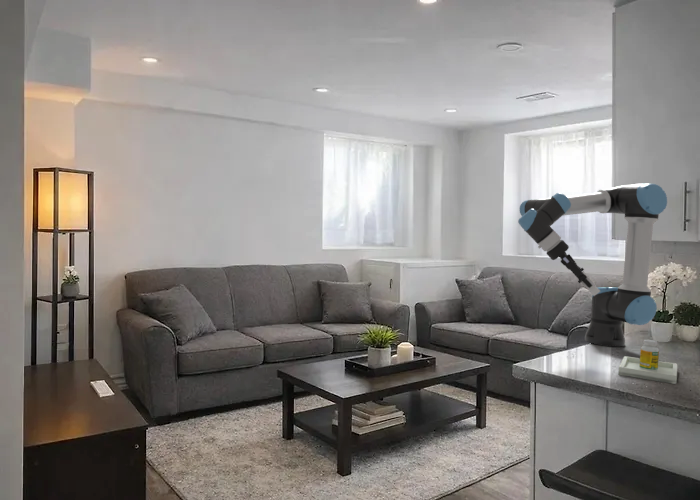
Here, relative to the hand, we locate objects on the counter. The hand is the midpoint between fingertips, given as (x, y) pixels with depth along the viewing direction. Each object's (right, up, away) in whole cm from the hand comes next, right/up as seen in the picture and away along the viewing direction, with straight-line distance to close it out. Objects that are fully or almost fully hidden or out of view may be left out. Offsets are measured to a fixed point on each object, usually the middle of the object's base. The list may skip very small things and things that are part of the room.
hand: (594, 290), depth 205 cm
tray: (+10, -26, -18) cm, 33 cm away
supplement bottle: (+10, -25, -18) cm, 32 cm away
